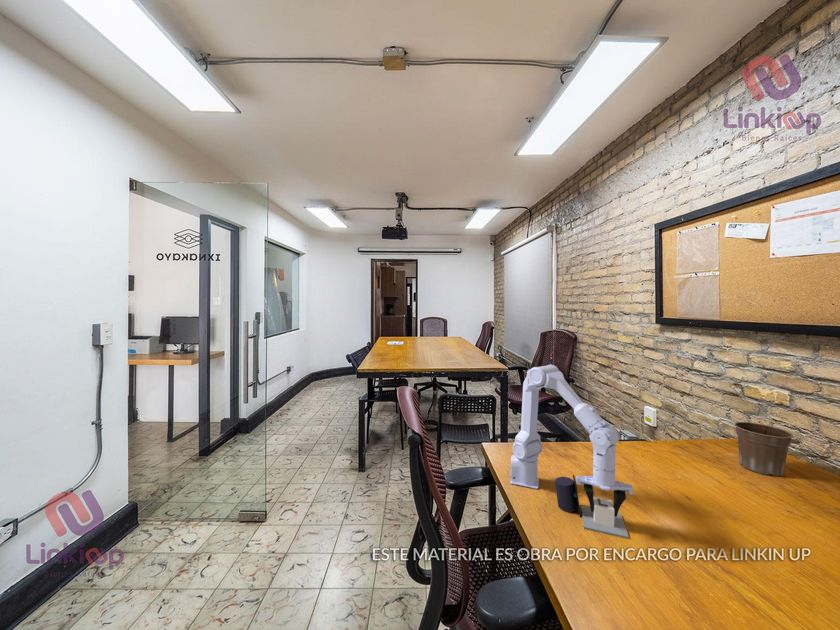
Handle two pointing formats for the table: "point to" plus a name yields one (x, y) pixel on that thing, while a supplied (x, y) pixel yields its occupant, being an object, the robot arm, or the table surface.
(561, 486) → the speaker
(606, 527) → the pad
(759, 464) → the plant pot
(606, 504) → the letter cube
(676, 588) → the table surface
